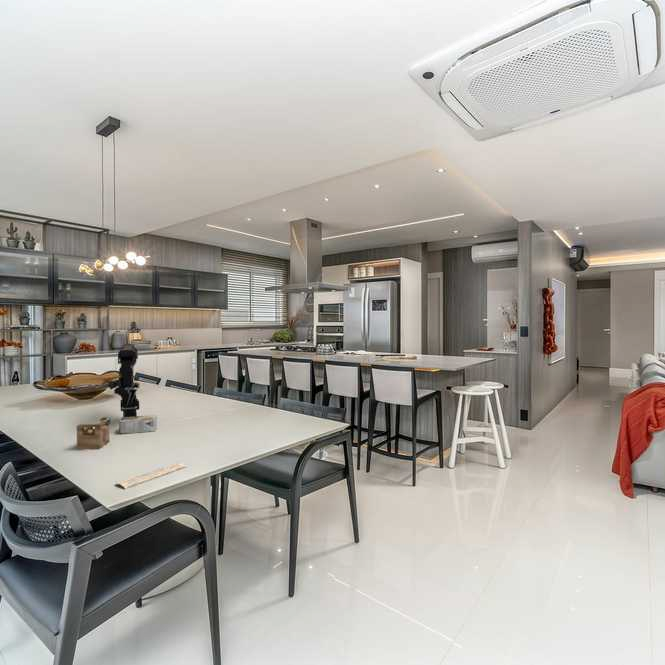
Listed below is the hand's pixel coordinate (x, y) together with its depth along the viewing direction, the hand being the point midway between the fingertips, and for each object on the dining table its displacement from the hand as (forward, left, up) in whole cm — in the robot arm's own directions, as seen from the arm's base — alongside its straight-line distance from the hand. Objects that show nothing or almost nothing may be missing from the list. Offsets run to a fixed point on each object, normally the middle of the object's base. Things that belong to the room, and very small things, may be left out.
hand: (127, 404), depth 206 cm
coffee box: (+15, +4, -9) cm, 18 cm away
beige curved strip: (+61, -45, -13) cm, 77 cm away
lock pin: (+8, -24, -7) cm, 26 cm away
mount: (+11, -28, -12) cm, 32 cm away
